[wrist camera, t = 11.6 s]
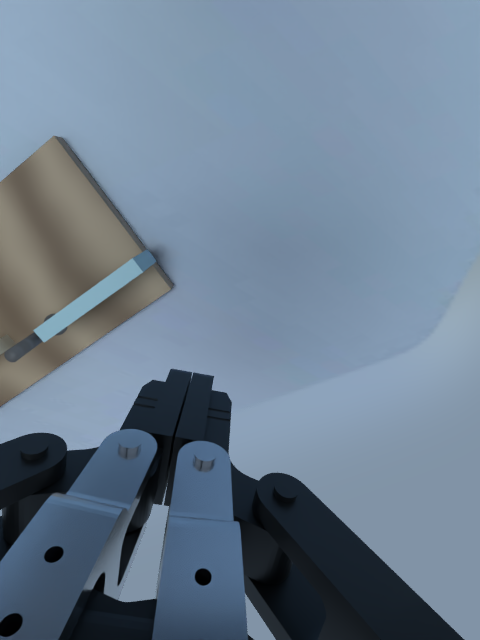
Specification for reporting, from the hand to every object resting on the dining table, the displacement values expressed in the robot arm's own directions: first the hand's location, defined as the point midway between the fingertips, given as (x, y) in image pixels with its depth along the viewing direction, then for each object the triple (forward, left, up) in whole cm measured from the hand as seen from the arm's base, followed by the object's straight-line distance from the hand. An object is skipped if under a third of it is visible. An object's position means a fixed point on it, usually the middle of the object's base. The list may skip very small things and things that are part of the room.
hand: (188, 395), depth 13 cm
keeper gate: (+7, -5, -16) cm, 18 cm away
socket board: (+14, -8, -18) cm, 24 cm away
